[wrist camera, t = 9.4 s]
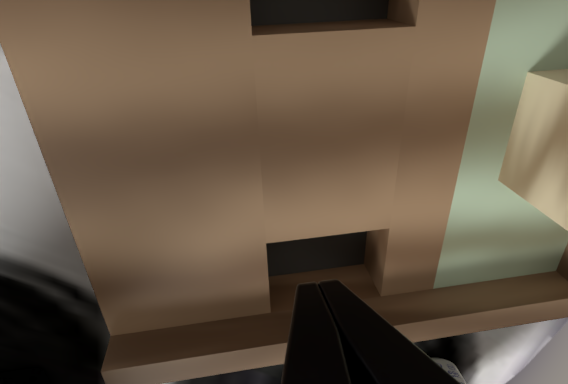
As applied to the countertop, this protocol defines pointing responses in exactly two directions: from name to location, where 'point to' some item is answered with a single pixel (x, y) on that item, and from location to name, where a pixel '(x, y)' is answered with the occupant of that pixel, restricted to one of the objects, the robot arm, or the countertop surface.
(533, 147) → the maple cube
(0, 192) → the countertop surface
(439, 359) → the energy drink
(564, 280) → the trap box
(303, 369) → the robot arm
